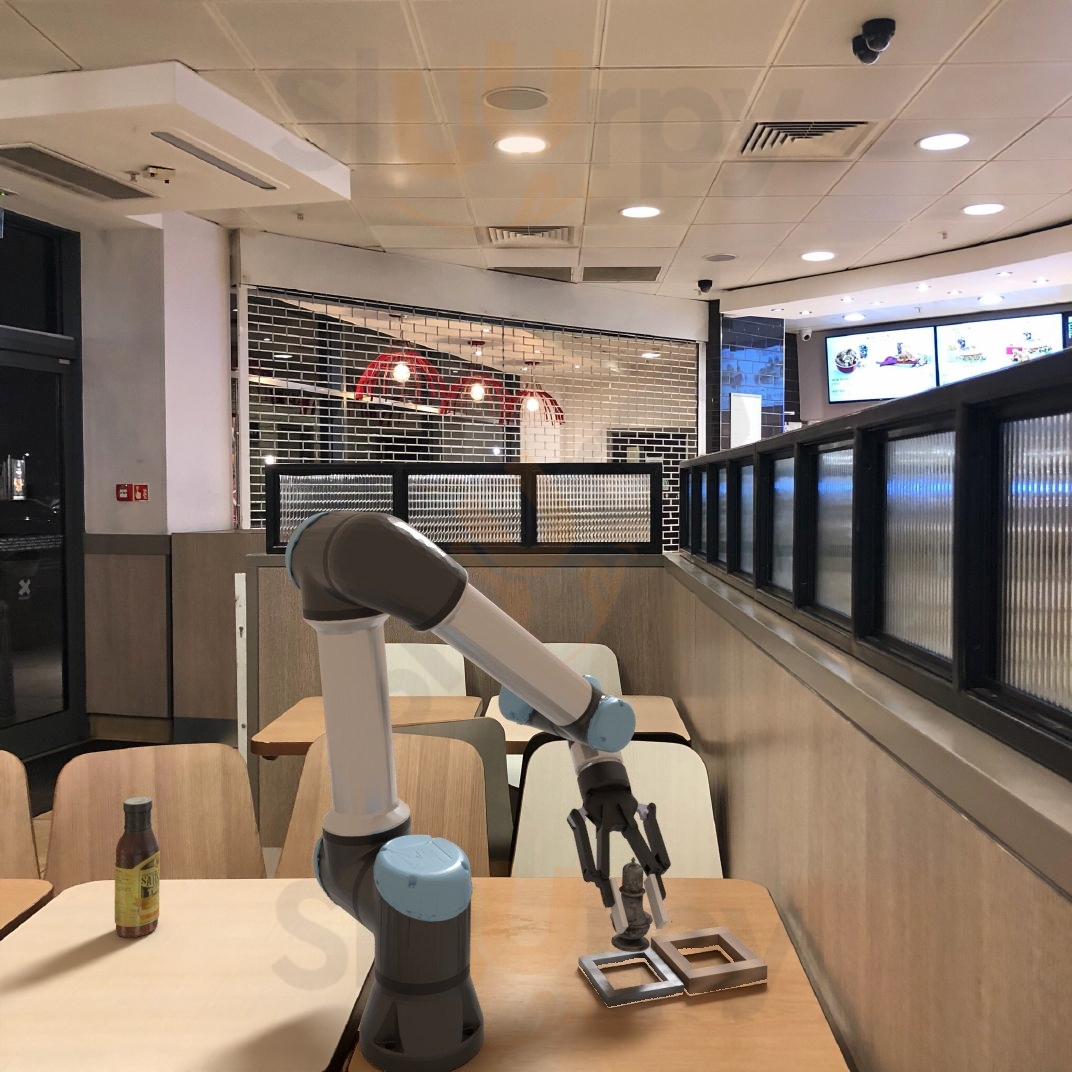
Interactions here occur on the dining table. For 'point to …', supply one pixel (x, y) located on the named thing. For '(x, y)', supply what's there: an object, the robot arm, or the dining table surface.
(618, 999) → the metal collar
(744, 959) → the walnut holder block
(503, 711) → the robot arm
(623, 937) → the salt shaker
